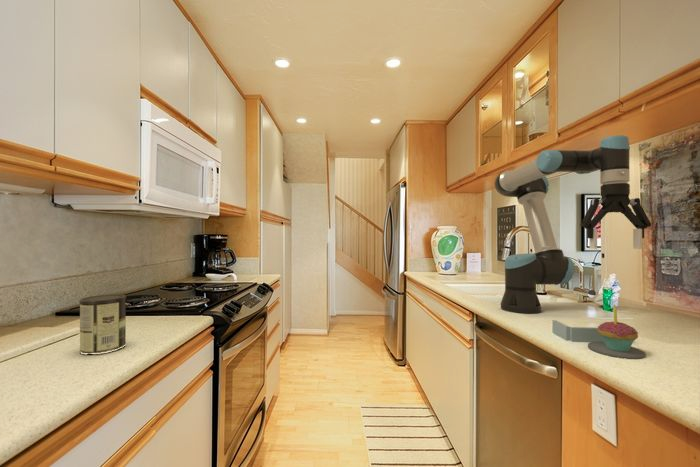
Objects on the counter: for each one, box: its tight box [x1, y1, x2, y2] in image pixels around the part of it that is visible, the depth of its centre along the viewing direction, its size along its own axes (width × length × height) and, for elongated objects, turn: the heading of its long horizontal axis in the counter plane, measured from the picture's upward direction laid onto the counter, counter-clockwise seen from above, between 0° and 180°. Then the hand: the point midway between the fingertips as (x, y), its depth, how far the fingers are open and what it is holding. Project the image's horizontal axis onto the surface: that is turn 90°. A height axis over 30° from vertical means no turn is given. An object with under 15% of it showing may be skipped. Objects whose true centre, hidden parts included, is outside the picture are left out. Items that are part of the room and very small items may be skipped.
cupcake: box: [597, 304, 639, 352], centre depth 90 cm, size 9×8×12 cm
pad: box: [587, 342, 646, 360], centre depth 90 cm, size 12×12×1 cm
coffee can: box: [79, 293, 127, 354], centre depth 91 cm, size 10×10×14 cm
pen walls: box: [551, 319, 605, 343], centre depth 101 cm, size 9×17×4 cm, turn 85°
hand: (615, 248), depth 109 cm, fingers open, 13 cm apart
